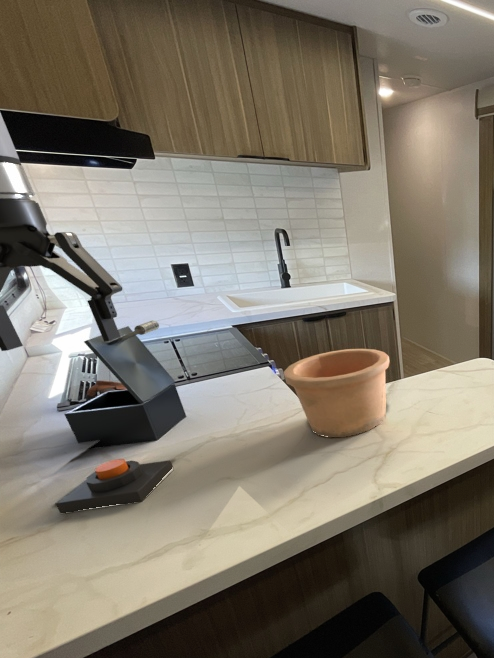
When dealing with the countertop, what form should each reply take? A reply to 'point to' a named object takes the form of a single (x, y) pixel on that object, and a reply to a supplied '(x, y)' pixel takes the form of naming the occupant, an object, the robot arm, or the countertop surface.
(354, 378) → the pottery
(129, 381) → the lid
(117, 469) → the button
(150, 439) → the dark grey box
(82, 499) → the panel
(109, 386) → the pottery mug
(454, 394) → the countertop surface
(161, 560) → the countertop surface
